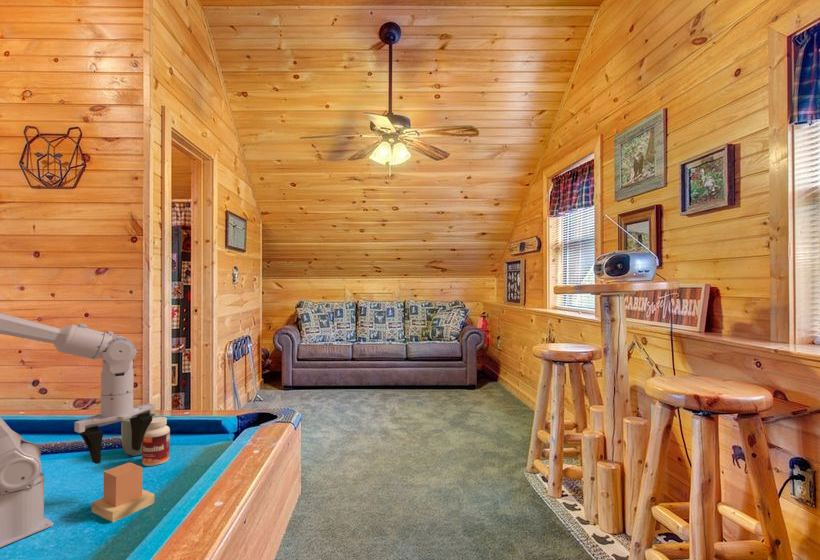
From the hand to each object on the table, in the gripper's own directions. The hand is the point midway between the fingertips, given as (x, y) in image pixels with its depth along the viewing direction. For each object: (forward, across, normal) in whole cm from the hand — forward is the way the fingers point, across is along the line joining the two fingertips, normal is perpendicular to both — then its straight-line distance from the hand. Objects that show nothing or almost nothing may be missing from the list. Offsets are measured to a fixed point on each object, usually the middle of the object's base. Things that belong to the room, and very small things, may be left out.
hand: (116, 455), depth 88 cm
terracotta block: (+8, 0, -4) cm, 9 cm away
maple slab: (+10, 0, -4) cm, 11 cm away
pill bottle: (+10, +15, +13) cm, 23 cm away
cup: (+10, +16, +23) cm, 30 cm away
